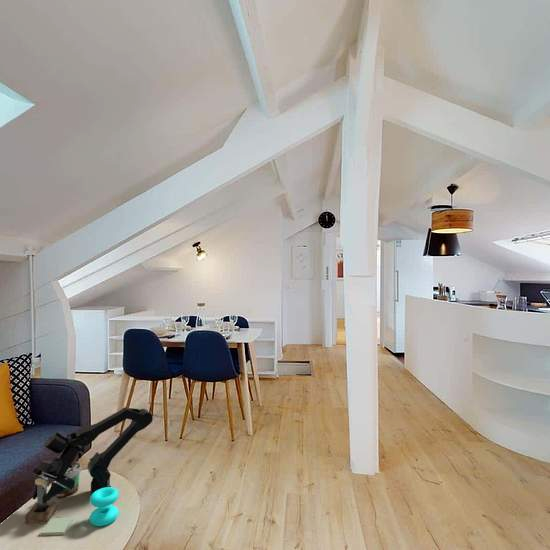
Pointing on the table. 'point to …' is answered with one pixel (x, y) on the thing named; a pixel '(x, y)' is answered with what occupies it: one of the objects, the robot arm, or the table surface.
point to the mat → (57, 526)
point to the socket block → (41, 513)
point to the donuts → (104, 506)
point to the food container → (74, 475)
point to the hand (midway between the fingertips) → (38, 501)
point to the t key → (41, 494)
